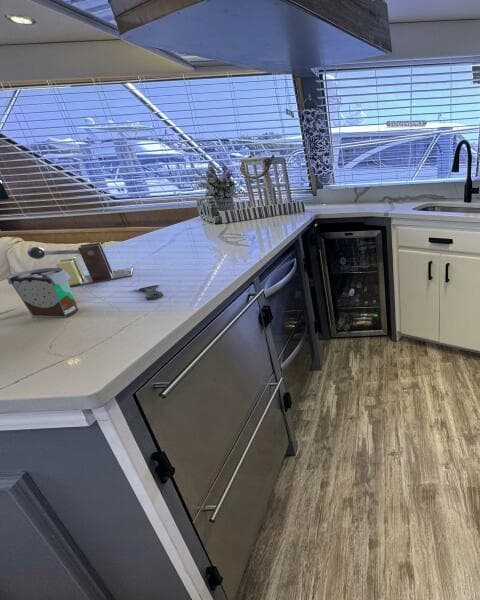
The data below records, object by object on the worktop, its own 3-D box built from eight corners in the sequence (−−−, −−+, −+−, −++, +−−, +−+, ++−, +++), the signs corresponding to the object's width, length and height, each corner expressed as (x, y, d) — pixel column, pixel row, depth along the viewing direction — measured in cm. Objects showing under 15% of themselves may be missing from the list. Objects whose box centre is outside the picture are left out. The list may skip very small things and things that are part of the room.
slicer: (70, 290, 89) (51, 252, 85) (76, 281, 96) (59, 246, 92) (133, 279, 96) (119, 243, 92) (134, 271, 104) (121, 238, 100)
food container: (99, 306, 78) (81, 266, 74) (72, 317, 72) (51, 275, 68) (56, 305, 79) (37, 266, 75) (27, 316, 74) (4, 275, 70)
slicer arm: (27, 260, 85) (24, 248, 84) (31, 258, 87) (27, 246, 86) (99, 257, 93) (96, 246, 92) (100, 255, 95) (97, 244, 94)
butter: (66, 285, 89) (55, 264, 86) (71, 278, 95) (61, 258, 92) (80, 283, 91) (70, 262, 88) (84, 276, 97) (75, 256, 94)
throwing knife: (145, 301, 79) (144, 298, 79) (134, 283, 93) (133, 281, 92) (166, 295, 82) (165, 293, 82) (152, 279, 95) (151, 277, 95)
